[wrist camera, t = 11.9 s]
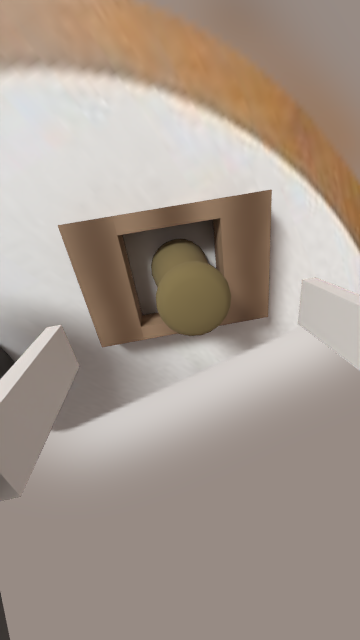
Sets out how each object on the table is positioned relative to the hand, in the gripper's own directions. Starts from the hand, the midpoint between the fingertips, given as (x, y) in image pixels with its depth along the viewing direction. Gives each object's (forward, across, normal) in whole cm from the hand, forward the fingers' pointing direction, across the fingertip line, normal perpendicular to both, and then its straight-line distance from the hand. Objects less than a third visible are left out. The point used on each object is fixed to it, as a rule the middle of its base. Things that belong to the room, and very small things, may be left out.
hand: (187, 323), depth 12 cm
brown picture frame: (+13, 0, 0) cm, 13 cm away
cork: (+13, +1, 0) cm, 13 cm away
